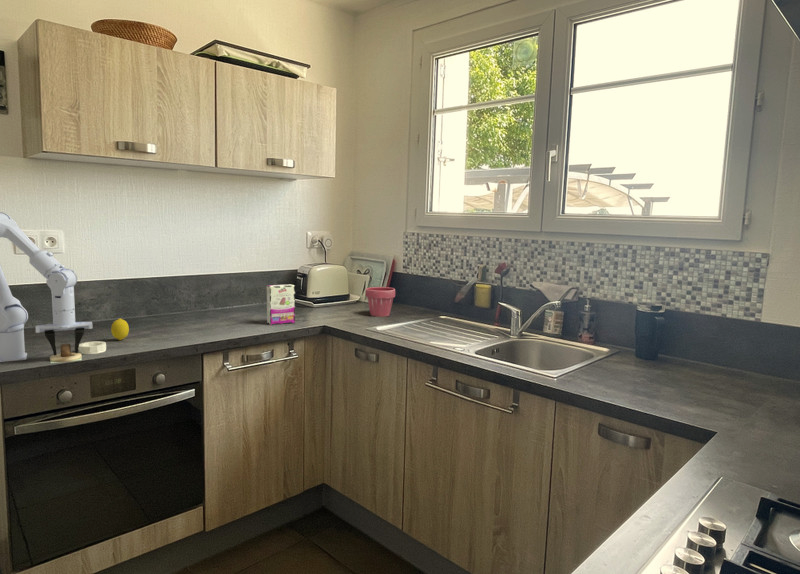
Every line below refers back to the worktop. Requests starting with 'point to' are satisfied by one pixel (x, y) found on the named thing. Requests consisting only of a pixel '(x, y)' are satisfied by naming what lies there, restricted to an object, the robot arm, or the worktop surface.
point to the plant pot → (380, 300)
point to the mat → (74, 360)
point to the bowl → (92, 347)
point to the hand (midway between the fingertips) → (65, 353)
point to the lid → (65, 354)
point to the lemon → (120, 329)
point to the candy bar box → (280, 304)
